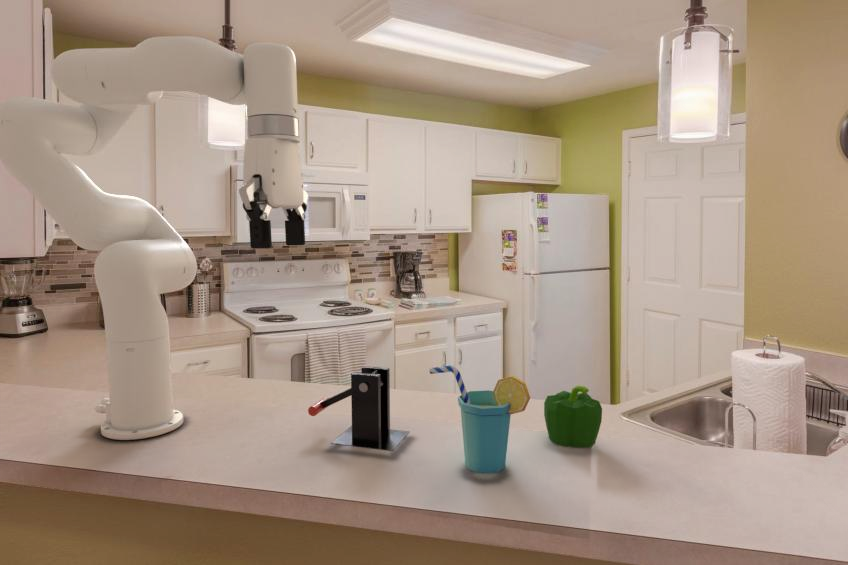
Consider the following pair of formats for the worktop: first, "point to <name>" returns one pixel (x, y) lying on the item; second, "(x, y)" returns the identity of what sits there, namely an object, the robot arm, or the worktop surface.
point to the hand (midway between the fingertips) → (279, 246)
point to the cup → (488, 420)
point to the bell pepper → (573, 418)
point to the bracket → (371, 412)
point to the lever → (332, 400)
